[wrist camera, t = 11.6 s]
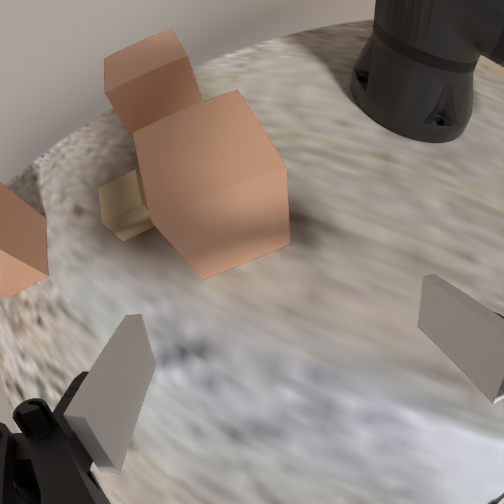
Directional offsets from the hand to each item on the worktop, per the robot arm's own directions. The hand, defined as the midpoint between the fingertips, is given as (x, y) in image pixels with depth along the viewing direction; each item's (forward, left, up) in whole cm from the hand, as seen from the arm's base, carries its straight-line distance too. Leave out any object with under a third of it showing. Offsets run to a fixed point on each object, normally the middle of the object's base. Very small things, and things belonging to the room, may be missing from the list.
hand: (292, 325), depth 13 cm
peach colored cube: (-9, -24, -10) cm, 28 cm away
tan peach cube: (+14, -27, -10) cm, 32 cm away
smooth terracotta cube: (-4, -10, -10) cm, 15 cm away
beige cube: (+1, -18, -10) cm, 21 cm away
